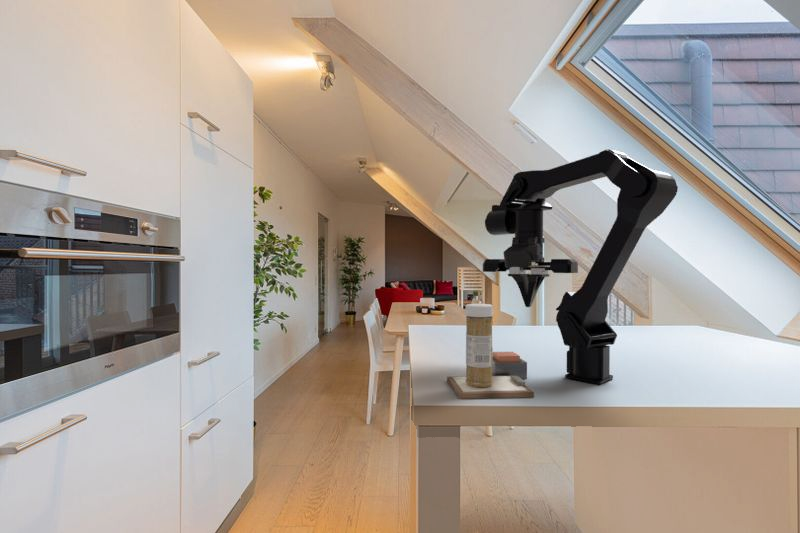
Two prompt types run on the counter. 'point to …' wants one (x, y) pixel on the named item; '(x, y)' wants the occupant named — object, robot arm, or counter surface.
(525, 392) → the clipboard
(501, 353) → the button
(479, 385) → the sprinkles bottle
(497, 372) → the button housing
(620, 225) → the robot arm
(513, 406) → the counter surface
